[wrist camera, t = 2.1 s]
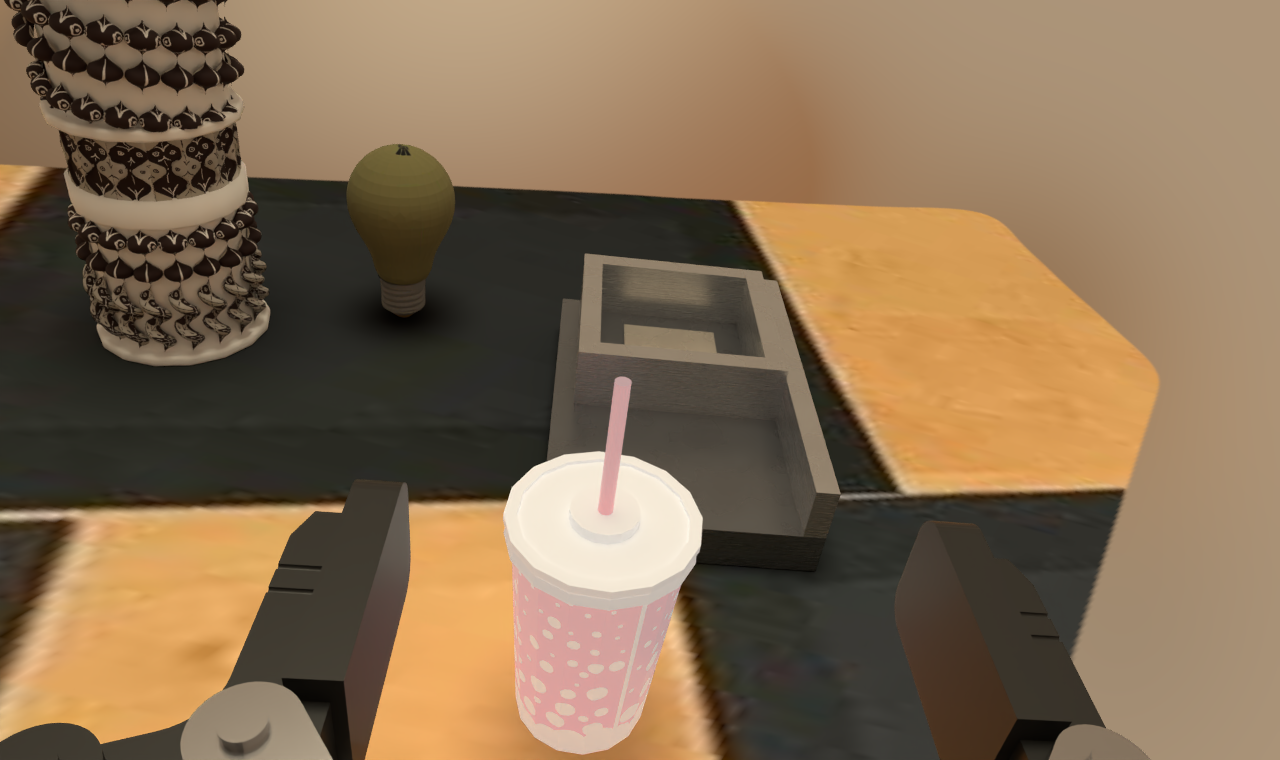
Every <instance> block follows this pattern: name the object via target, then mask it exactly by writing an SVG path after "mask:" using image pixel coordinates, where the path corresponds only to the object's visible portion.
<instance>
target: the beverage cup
mask: <svg viewBox="0 0 1280 760" xmlns="http://www.w3.org/2000/svg"><path fill="white" fill-rule="evenodd" d="M631 383H632V381H631V380H630V379H629V378H627V377H617V378H616V379H615V382H614V390H613V397H612V405H611V413H610V420H609V428H608V436H607V443H606V451H605V452H600V451H597V452H587V453H576V454H566V455H562V456H559V457H557V458H554V459H552V460H550V461H547V462H545V463H542V464H540V465H537V466H535V467H533V468H532V469H531V470H530V471H529V472H528V473H527V474H526V475H525V476H523V477H522V478H521V479H520V480H519V481H518V482H517V483H516V484H515V485H514V486H513V487H512V489H511V492H510V495H509V498H508V501H507V504H506V507H505V510H504V515H503V521H504V525H505V529H504V536H505V540H506V544H507V548H508V552H509V557H510V561H511V562H512V569H513V607H514V646H515V685H516V700H517V705H518V709H519V714H520V719H521V720H522V721H523V723H524V724H525V725H526V727H527V728H528V729H529V731H530V732H531V733H532V734H533V736H534V737H535V738H537V739H538V740H540V741H542V742H543V743H545V744H547V745H549V746H550V747H552V748H554V749H555V750H558V751H564V752H570V753H576V754H582V755H583V754H588V753H593V752H598V751H603V750H608V749H609V748H611V747H613V746H614V745H616V744H617V743H619V742H620V741H622V740H623V739H625V738H626V737H628V736H629V734H630V733H631V731H632V729H633V728H634V726H635V725H636V723H637V722H638V720H639V718H640V716H641V713H642V710H643V707H644V703H645V700H646V697H647V694H648V690H649V687H650V684H651V681H652V677H653V674H654V671H655V668H656V664H657V661H658V658H659V655H660V651H661V648H662V645H663V642H664V638H665V635H666V632H667V629H668V625H669V622H670V619H671V616H672V612H673V609H674V606H675V603H676V599H677V596H678V593H679V590H680V586H681V584H682V583H683V581H684V580H685V578H686V577H687V575H688V574H689V572H690V571H691V570H692V568H693V567H694V565H695V564H696V556H697V554H698V553H699V552H700V547H701V537H702V521H703V517H702V515H701V513H700V511H699V509H698V507H697V505H696V503H695V501H694V499H693V497H692V495H691V493H690V492H689V491H688V490H687V489H686V488H685V487H684V486H683V485H681V484H680V483H679V482H678V481H677V480H676V479H675V478H673V477H672V476H671V475H670V474H669V473H668V472H667V471H665V470H663V469H660V468H658V467H656V466H653V465H651V464H649V463H647V462H644V461H642V460H640V459H638V458H635V457H631V456H625V455H621V453H622V446H623V439H624V432H625V425H626V418H627V411H628V404H629V397H630V390H631Z"/></svg>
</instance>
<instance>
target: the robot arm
mask: <svg viewBox="0 0 1280 760" xmlns="http://www.w3.org/2000/svg"><path fill="white" fill-rule="evenodd" d="M409 573H410V530H409V506H408V489H407V484H406V483H404V482H390V481H376V480H362V479H356V480H355V481H354V483H353V484H352V487H351V489H350V492H349V495H348V498H347V500H346V503H345V506H344V509H343V511H342V513H333V512H319V511H315V512H314V513H313V514H312V515H311V516H310V517H309V518H308V519H307V520H306V521H305V522H304V523H303V524H302V525H300V526H299V527H298V528H297V529H296V530H295V531H294V532H293V533H292V534H291V535H290V537H289V540H288V542H287V544H286V547H285V549H284V551H283V554H282V556H281V559H280V561H279V563H278V569H276V570H275V573H274V575H273V578H272V580H271V582H270V585H269V590H268V593H266V594H265V596H264V599H263V601H262V604H261V606H260V608H259V611H258V613H257V615H256V618H255V620H254V623H253V625H252V627H251V630H250V632H249V634H248V637H247V639H246V641H245V644H244V646H243V649H242V651H241V653H240V656H239V658H238V660H237V663H236V665H235V667H234V670H233V672H232V675H231V677H230V679H229V681H228V683H227V685H226V686H225V687H224V689H223V690H222V691H220V692H219V693H217V694H215V695H213V696H212V697H210V698H209V699H208V700H206V701H205V702H204V703H203V704H202V705H201V706H199V707H198V708H197V710H196V711H195V712H194V713H193V714H192V715H191V717H190V719H188V720H186V721H184V722H182V723H180V724H177V725H175V726H172V727H170V728H167V729H163V730H160V731H156V732H152V733H148V734H143V735H139V736H135V737H130V738H126V739H121V740H117V741H113V742H108V743H104V744H100V743H99V741H98V739H97V738H96V737H95V735H94V734H93V733H91V732H90V731H89V730H87V729H85V728H83V727H81V726H78V725H74V724H69V723H50V724H44V725H39V726H35V727H32V728H29V729H25V730H23V731H21V732H18V733H16V734H14V735H12V736H10V737H8V738H6V739H5V740H3V741H1V742H0V760H365V756H366V752H367V748H368V744H369V740H370V736H371V732H372V728H373V724H374V720H375V716H376V712H377V708H378V704H379V700H380V696H381V692H382V689H383V685H384V681H385V677H386V673H387V669H388V665H389V661H390V657H391V653H392V649H393V645H394V641H395V637H396V633H397V629H398V625H399V621H400V617H401V613H402V609H403V605H404V602H405V597H406V593H407V588H408V581H409ZM1047 614H1048V613H1047V611H1046V609H1045V607H1044V605H1043V603H1042V601H1041V599H1040V597H1039V595H1038V593H1037V591H1036V589H1035V587H1034V585H1033V584H1032V583H1031V582H1030V581H1029V580H1028V579H1027V578H1026V577H1025V576H1024V575H1023V574H1022V573H1021V572H1020V571H1019V570H1018V569H1017V568H1016V567H1015V566H1014V565H1013V564H1012V563H1011V562H1010V561H1009V560H1008V559H995V558H994V557H993V554H992V552H991V550H990V548H989V546H988V544H987V542H986V540H985V538H984V535H983V533H982V532H981V530H980V528H979V527H978V526H976V525H975V524H967V523H953V522H938V521H926V522H925V523H924V524H923V525H922V526H921V528H920V530H919V533H918V535H917V538H916V541H915V543H914V546H913V548H912V551H911V553H910V556H909V559H908V561H907V564H906V566H905V569H904V571H903V574H902V577H901V579H900V582H899V584H898V587H897V591H896V596H895V618H896V624H897V628H898V631H899V635H900V638H901V641H902V644H903V647H904V650H905V653H906V656H907V659H908V662H909V665H910V668H911V671H912V675H913V678H914V681H915V684H916V687H917V690H918V693H919V696H920V699H921V702H922V705H923V708H924V711H925V715H926V718H927V721H928V724H929V727H930V730H931V733H932V736H933V739H934V742H935V745H936V748H937V751H938V755H939V758H940V760H1150V758H1149V757H1148V756H1147V755H1146V754H1145V753H1144V752H1143V751H1142V750H1141V749H1140V748H1139V747H1137V746H1136V745H1135V744H1134V743H1132V742H1131V741H1130V740H1128V739H1126V738H1125V737H1123V736H1122V735H1120V734H1118V733H1115V732H1113V731H1112V730H1109V729H1106V727H1105V725H1104V723H1103V721H1102V719H1101V717H1100V715H1099V714H1098V712H1097V710H1096V708H1095V706H1094V704H1093V702H1092V700H1091V698H1090V696H1089V694H1088V692H1087V690H1086V688H1085V686H1084V684H1083V682H1082V680H1081V678H1080V676H1079V674H1078V672H1077V670H1076V668H1075V666H1074V664H1073V662H1072V660H1071V658H1070V656H1069V654H1068V652H1067V650H1066V648H1065V646H1064V644H1063V642H1059V635H1058V633H1057V631H1056V629H1055V627H1054V625H1053V623H1052V621H1051V619H1048V618H1047Z"/></svg>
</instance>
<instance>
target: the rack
mask: <svg viewBox="0 0 1280 760" xmlns="http://www.w3.org/2000/svg"><path fill="white" fill-rule="evenodd" d="M617 377H627V378H629V379H630V380H631V381H632V383H631V390H630V397H629V404H628V411H627V418H626V425H625V432H624V439H623V446H622V453H621V455H625V456H631V457H635V458H638V459H640V460H642V461H644V462H647V463H649V464H651V465H653V466H656V467H658V468H660V469H663V470H665V471H667V472H668V473H669V474H670V475H671V476H672V477H673V478H675V479H676V480H677V481H678V482H679V483H680V484H681V485H683V486H684V487H685V488H686V489H687V490H688V491H689V492H690V493H691V495H692V497H693V499H694V501H695V503H696V505H697V507H698V509H699V511H700V513H701V515H702V517H703V521H702V537H701V547H700V552H699V553H698V554H697V556H696V563H706V564H719V565H733V566H747V567H761V568H775V569H789V570H802V571H815V570H816V567H817V564H818V561H819V558H820V555H821V552H822V549H823V546H824V543H825V540H826V537H827V534H828V531H829V528H830V525H831V522H832V519H833V516H834V513H835V510H836V507H837V504H838V501H839V498H840V495H841V494H840V490H839V487H838V484H837V480H836V477H835V474H834V470H833V467H832V464H831V460H830V457H829V454H828V450H827V447H826V444H825V440H824V437H823V434H822V430H821V427H820V423H819V420H818V417H817V413H816V410H815V407H814V403H813V400H812V397H811V393H810V390H809V387H808V383H807V380H806V377H805V373H804V370H803V367H802V363H801V360H800V357H799V353H798V350H797V347H796V343H795V340H794V337H793V333H792V330H791V327H790V323H789V320H788V317H787V313H786V310H785V307H784V303H783V300H782V296H781V293H780V290H779V286H778V283H777V281H772V280H764V279H763V276H762V272H761V271H751V270H742V269H732V268H722V267H712V266H702V265H692V264H682V263H672V262H662V261H652V260H643V259H633V258H623V257H613V256H603V255H593V254H585V259H584V269H583V280H582V290H581V300H571V299H563V304H562V314H561V324H560V335H559V345H558V355H557V365H556V375H555V385H554V395H553V405H552V415H551V425H550V435H549V445H548V455H547V461H550V460H552V459H554V458H557V457H559V456H562V455H566V454H576V453H587V452H597V451H600V452H605V451H606V443H607V436H608V428H609V420H610V413H611V405H612V397H613V390H614V382H615V379H616V378H617Z"/></svg>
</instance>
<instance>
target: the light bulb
mask: <svg viewBox="0 0 1280 760" xmlns="http://www.w3.org/2000/svg"><path fill="white" fill-rule="evenodd" d="M347 205H348V211H349V214H350V217H351V220H352V222H353V224H354V226H355V228H356V230H357V231H358V233H359V235H360V236H361V238H362V239H363V241H364V242H365V244H366V245H367V247H368V249H369V251H370V253H371V256H372V258H373V262H374V266H375V269H376V271H377V273H378V276H379V277H380V282H381V289H382V290H381V294H382V296H381V298H382V305H383V307H384V308H385V309H386V310H388V311H391V312H392V313H394V314H395V315H397V316H399V317H409V316H411V315H412V314H414V313H415V312H417V311H419V310H421V309H422V308H423V307H424V305H425V279H426V278H427V276H428V274H429V273H430V271H431V268H432V263H433V259H434V256H435V253H436V251H437V249H438V247H439V245H440V243H441V241H442V239H443V238H444V236H445V234H446V232H447V231H448V228H449V226H450V224H451V221H452V218H453V214H454V209H455V195H454V189H453V186H452V182H451V180H450V178H449V176H448V174H447V172H446V171H445V169H444V168H443V167H442V165H441V164H440V163H439V162H438V161H437V160H436V159H435V158H434V157H433V156H431V155H430V154H428V153H426V152H425V151H423V150H421V149H419V148H416V147H413V146H410V145H403V144H393V145H387V146H382V147H380V148H378V149H376V150H374V151H372V152H370V153H369V154H367V155H366V156H365V157H364V158H363V159H362V160H361V161H360V162H359V163H358V164H357V165H356V167H355V169H354V170H353V172H352V174H351V177H350V179H349V182H348V186H347Z"/></svg>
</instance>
